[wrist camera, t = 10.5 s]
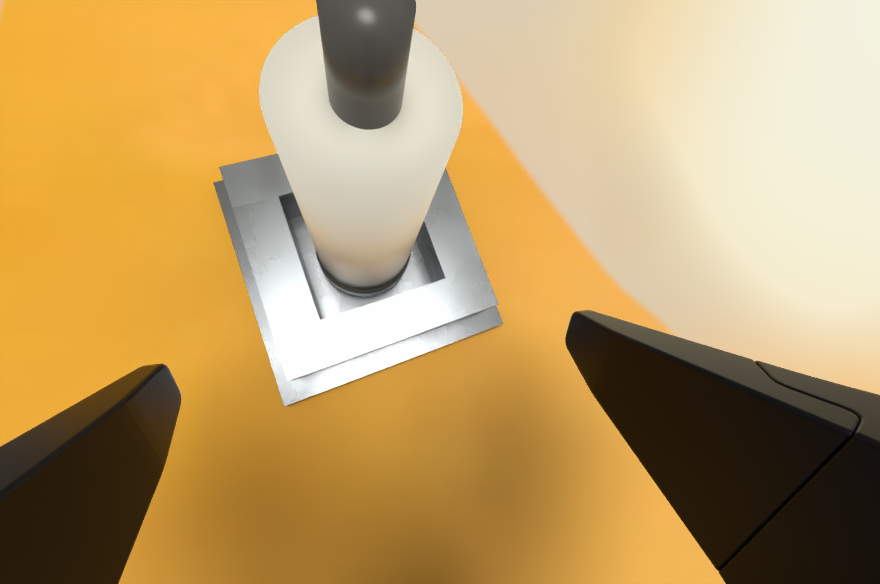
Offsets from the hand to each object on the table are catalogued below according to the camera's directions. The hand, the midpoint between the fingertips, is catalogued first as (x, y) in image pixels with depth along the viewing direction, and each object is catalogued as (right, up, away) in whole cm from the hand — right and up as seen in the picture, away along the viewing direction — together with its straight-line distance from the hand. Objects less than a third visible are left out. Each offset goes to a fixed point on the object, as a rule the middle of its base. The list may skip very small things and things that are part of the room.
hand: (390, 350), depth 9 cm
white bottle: (-3, +3, +12) cm, 13 cm away
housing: (-3, +3, +13) cm, 14 cm away
